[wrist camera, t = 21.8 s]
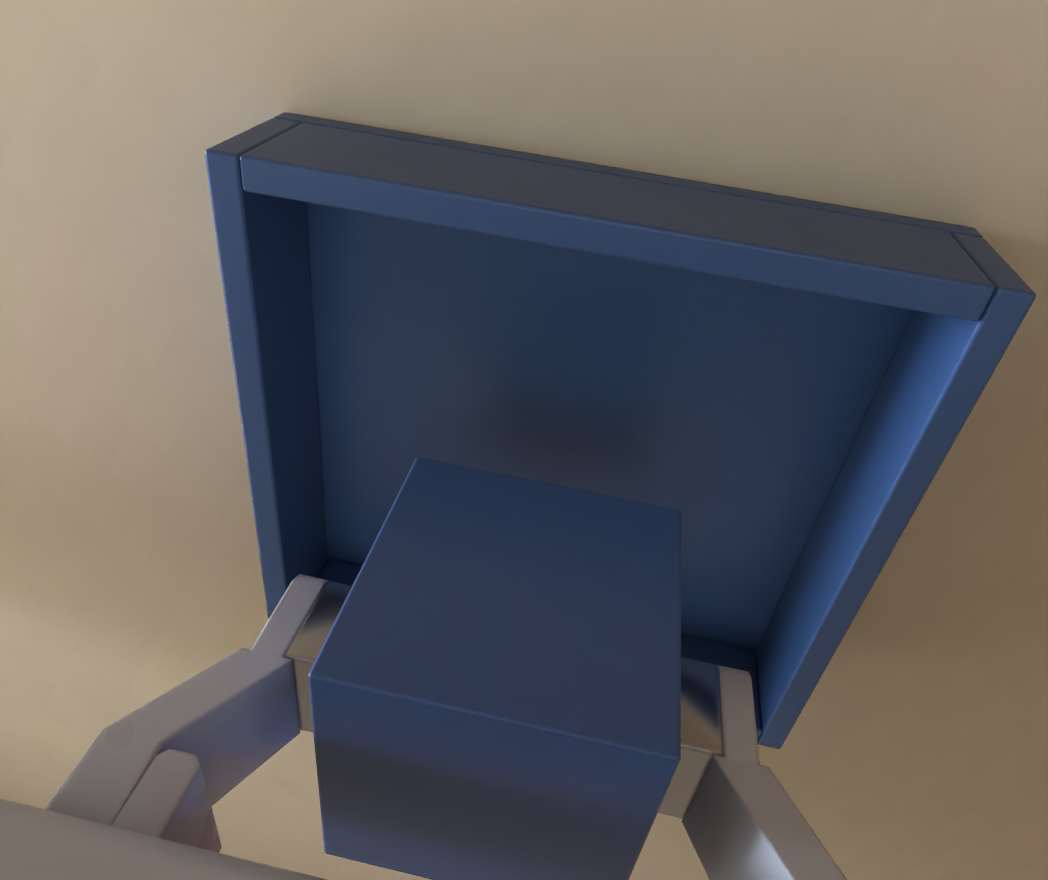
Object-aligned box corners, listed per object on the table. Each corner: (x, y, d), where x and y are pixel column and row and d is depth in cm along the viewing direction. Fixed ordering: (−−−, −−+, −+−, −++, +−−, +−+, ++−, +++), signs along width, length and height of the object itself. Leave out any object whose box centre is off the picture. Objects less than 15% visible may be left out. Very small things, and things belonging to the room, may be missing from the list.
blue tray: (976, 227, 13) (1039, 294, 11) (769, 653, 21) (780, 750, 18) (283, 111, 14) (202, 148, 12) (315, 555, 22) (269, 634, 19)
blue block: (681, 509, 12) (681, 760, 8) (628, 677, 15) (610, 924, 11) (416, 455, 12) (306, 675, 9) (410, 629, 15) (323, 854, 11)
